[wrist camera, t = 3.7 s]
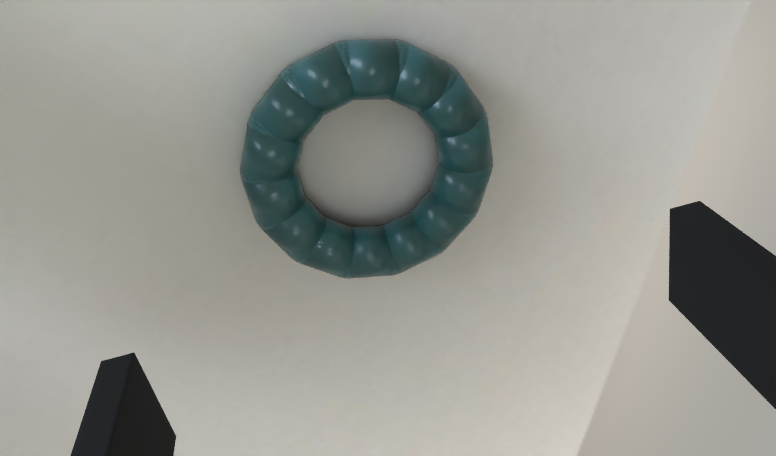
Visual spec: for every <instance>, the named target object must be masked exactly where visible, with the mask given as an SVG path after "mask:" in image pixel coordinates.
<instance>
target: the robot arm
mask: <svg viewBox="0 0 776 456" xmlns="http://www.w3.org/2000/svg"><path fill="white" fill-rule="evenodd" d="M669 252H670V254H669V256H670V258H669V301H670V302H671V303H672V304H673V305H674V306H675V307H676V308H677V309H678V310H679V311H680V312H681V313H682V314H683V315H684V316H685V317H686V318H687V319H688V320H689V321H690V322H691V323H692V324H693V325H694V326H695V327H696V328H697V329H698V330H699V331H700V332H701V333H702V334H703V335H704V336H705V337H706V339H707V340H708V341H709V342H710V343H711V344H712V345H713V346H714V347H715V348H716V349H717V350H718V351H719V352H720V353H721V354H722V355H723V356H724V357H725V358H726V359H727V360H728V361H729V362H730V363H731V364H732V365H733V366H734V367H735V368H736V369H737V370H738V371H739V372H740V373H741V374H742V375H743V376H744V377H745V378H746V379H747V380H748V381H749V382H750V383H751V384H752V386H754V388H755V389H756V390H757V391H758V392H759V393H760V394H761V395H762V396H763V397H764V398H765V399H767V401H768V402H769V403H770V404H771V405H772V406H773V407H774V408H775V409H776V256H775V255H773V254H772V253H771V252H769V251H768V250H766V249H765V248H764V247H762V246H761V245H760V244H758V243H757V242H755V241H754V240H753V239H751V238H750V237H749V236H747V235H746V234H744V233H743V232H742V231H740V230H739V229H738V228H736V227H735V226H733V225H732V224H731V223H729V222H728V221H727V220H725V219H724V218H722V217H721V216H720V215H718V214H717V213H716V212H714V211H713V210H711V209H710V208H709V207H707V206H706V205H704V204H703V203H702V202H700V201H698V202H694V203H690V204H687V205H683V206H679V207H675V208H672V209H670V251H669ZM175 440H176V435H175V433H174V431H173V429H172V427H171V425H170V423H169V421H168V419H167V417H166V415H165V413H164V411H163V409H162V407H161V405H160V403H159V401H158V399H157V397H156V395H155V393H154V391H153V389H152V387H151V385H150V383H149V381H148V379H147V377H146V375H145V373H144V371H143V369H142V367H141V365H140V363H139V361H138V359H137V357H136V355H135V353H130V354H127V355H123V356H119V357H116V358H112V359H108V360H104V361H101V364H100V367H99V370H98V373H97V376H96V379H95V382H94V385H93V388H92V391H91V395H90V398H89V401H88V404H87V407H86V410H85V413H84V416H83V419H82V422H81V425H80V428H79V432H78V435H77V438H76V441H75V444H74V447H73V450H72V453H71V456H173V453H174V447H175Z"/></svg>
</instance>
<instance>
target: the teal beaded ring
mask: <svg viewBox="0 0 776 456" xmlns="http://www.w3.org/2000/svg"><path fill="white" fill-rule="evenodd" d="M372 99H390V100H392V101H394V102H396V103H398V104H401V105H403V106H405V107H407V108H409V109H411V110H414V111H416V112H417V113H418V114H419V115H420V117H421V118H422V119H423V120H424V122H425V123H426V124H427V126H428V127H429V128H430V129H431V131H432V132H433V133H434V135H435V141H436V146H437V152H438V158H439V164H438V167H437V171H436V174H435V177H434V181H433V184H432V187H431V190H430V191H429V192H428V193H427V194H426V195H425V196H424V198H423V199H422V200H421V201H420V202H419V203H418V204H417V206H416V207H415V208H414V209H413V210H412V211H411V212H410V213H408V214H405V215H403V216H401V217H399V218H397V219H395V220H393V221H391V222H389V223H387V224H385V225H382V226H363V227H350V226H348V225H345V224H342V223H340V222H337V221H334V220H332V219H329V218H326V217H324V216H323V215H322V214H321V213H320V212H319V211H318V210H317V209H316V208H315V206H314V205H313V204H312V203H311V202H310V201H309V200H308V199H307V198H306V197H305V195H304V192H303V188H302V185H301V181H300V178H299V175H298V171H297V169H298V164H299V159H300V154H301V149H302V145H303V141H304V139H305V138H306V137H307V136H308V134H309V133H310V132H311V131H312V129H313V128H314V127H315V125H316V124H317V123H318V122H319V120H320V119H321V118H322V117H323V115H325V114H327V113H329V112H331V111H333V110H335V109H337V108H339V107H341V106H343V105H345V104H347V103H349V102H351V101H353V100H372ZM492 168H493V156H492V149H491V141H490V133H489V126H488V118H487V114H486V111H485V109H484V108H483V106H482V105H481V103H480V102H479V100H478V99H477V98H476V96H475V95H474V93H473V92H472V91H471V89H470V88H469V86H468V85H467V84H466V82H465V81H464V79H463V78H462V77H461V75H460V74H459V72H458V71H457V70H456V69H455V68H454V67H453V66H452V65H450V64H449V63H447V62H445V61H443V60H441V59H439V58H437V57H435V56H433V55H431V54H429V53H427V52H425V51H423V50H421V49H419V48H417V47H415V46H413V45H411V44H409V43H407V42H404V41H401V40H343V41H338V42H335V43H333V44H331V45H329V46H327V47H325V48H323V49H321V50H319V51H317V52H315V53H313V54H311V55H309V56H307V57H305V58H303V59H301V60H299V61H298V62H296V63H294V64H292V65H290V66H288V67H287V68H285V69H284V70H283V71H282V72H281V74H280V75H279V76H278V78H277V79H276V80H275V82H274V83H273V84H272V86H271V87H270V88H269V90H268V91H267V92H266V94H265V95H264V96H263V98H262V99H261V100H260V102H259V103H258V104H257V106H256V107H255V108H254V110H253V111H252V113H251V115H250V117H249V120H248V124H247V130H246V136H245V142H244V148H243V154H242V160H241V166H240V174H241V179H242V182H243V185H244V188H245V191H246V194H247V197H248V199H249V202H250V205H251V208H252V211H253V214H254V217H255V220H256V222H257V224H258V225H259V226H260V228H261V229H262V230H263V231H264V232H265V233H266V234H267V235H268V236H269V237H270V238H271V239H272V240H273V241H274V242H275V243H277V244H278V245H279V246H280V247H281V248H282V249H283V250H284V251H285V252H286V253H287V254H288V255H289V256H290V257H291V258H292V259H293V260H295V261H296V262H299V263H301V264H304V265H306V266H309V267H312V268H315V269H318V270H321V271H324V272H327V273H330V274H333V275H335V276H338V277H342V278H361V277H376V276H391V275H396V274H399V273H401V272H403V271H405V270H408V269H410V268H412V267H414V266H416V265H418V264H420V263H422V262H424V261H426V260H429V259H431V258H433V257H435V256H437V255H439V254H440V253H442V252H443V251H444V250H445V249H446V248H447V247H448V246H449V245H450V244H451V243H452V242H453V241H454V239H455V238H456V237H457V236H458V235H459V234H460V233H461V232H462V231H463V230H464V229H465V227H466V226H467V225H468V224H469V223H470V222H471V221H472V220H473V219H474V217H475V216H476V214H477V212H478V210H479V207H480V204H481V201H482V198H483V195H484V192H485V189H486V186H487V184H488V181H489V178H490V175H491V172H492Z"/></svg>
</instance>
